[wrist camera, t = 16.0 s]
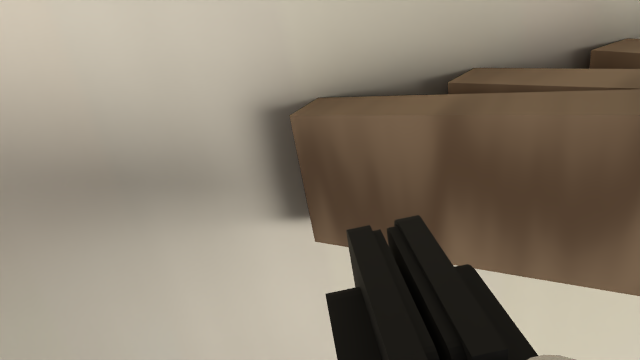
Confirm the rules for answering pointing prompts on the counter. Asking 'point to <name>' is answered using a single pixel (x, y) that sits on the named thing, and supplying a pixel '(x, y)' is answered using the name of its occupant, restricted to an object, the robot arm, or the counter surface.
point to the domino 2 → (485, 178)
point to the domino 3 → (617, 55)
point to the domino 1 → (543, 80)
